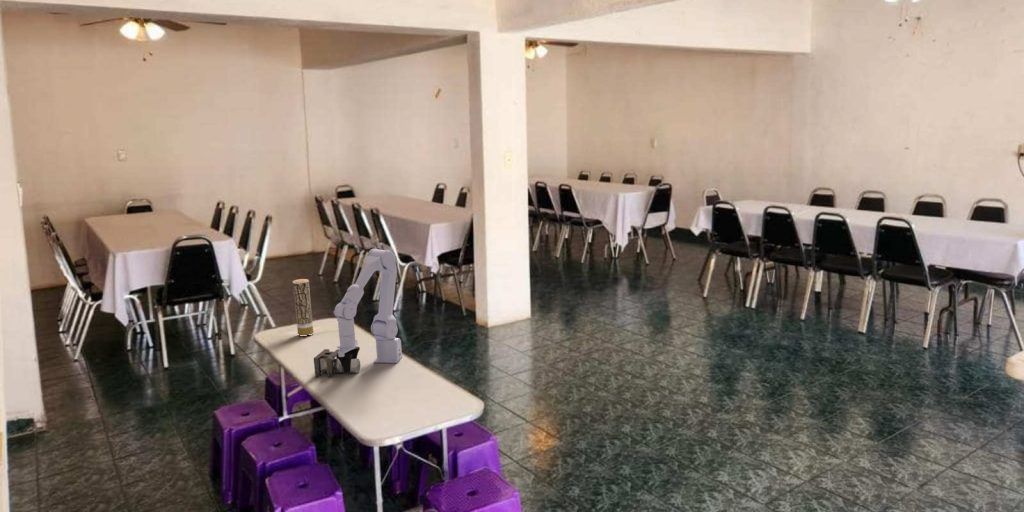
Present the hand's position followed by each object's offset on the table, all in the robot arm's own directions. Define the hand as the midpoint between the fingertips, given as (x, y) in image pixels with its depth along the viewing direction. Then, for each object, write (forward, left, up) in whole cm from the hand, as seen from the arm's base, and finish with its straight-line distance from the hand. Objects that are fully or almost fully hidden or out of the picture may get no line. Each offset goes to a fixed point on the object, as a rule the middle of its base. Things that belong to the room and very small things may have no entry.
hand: (349, 369), depth 269 cm
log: (+39, -47, -2) cm, 61 cm away
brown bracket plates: (+8, 0, -1) cm, 8 cm away
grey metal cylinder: (+4, 0, -1) cm, 4 cm away
